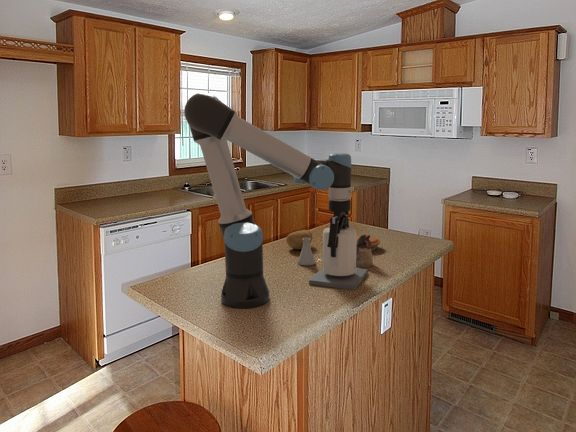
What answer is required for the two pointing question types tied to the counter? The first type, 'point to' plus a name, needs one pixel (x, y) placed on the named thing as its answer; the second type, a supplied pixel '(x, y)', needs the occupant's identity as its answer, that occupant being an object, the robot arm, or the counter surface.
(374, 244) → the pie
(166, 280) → the counter surface
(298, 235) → the potato
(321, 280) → the slate board
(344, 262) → the white cylinder
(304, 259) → the flask
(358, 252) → the figurine
